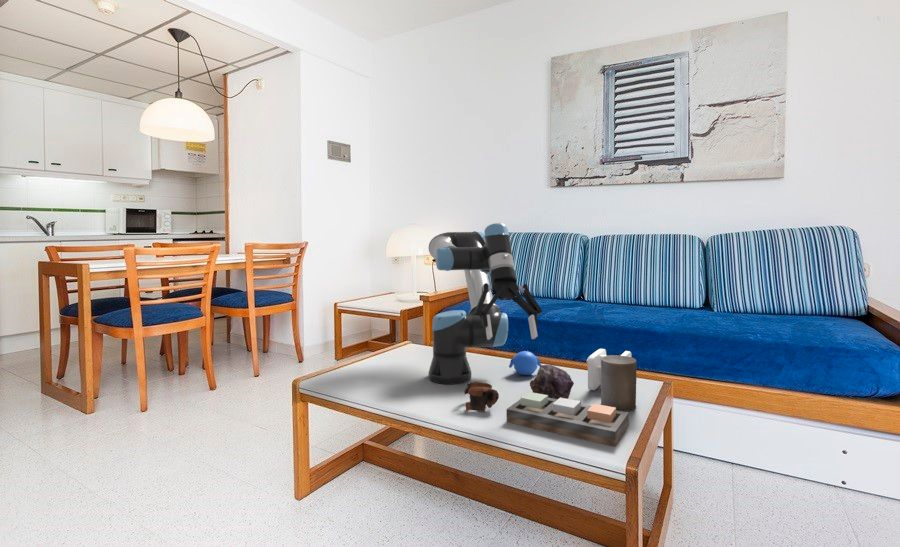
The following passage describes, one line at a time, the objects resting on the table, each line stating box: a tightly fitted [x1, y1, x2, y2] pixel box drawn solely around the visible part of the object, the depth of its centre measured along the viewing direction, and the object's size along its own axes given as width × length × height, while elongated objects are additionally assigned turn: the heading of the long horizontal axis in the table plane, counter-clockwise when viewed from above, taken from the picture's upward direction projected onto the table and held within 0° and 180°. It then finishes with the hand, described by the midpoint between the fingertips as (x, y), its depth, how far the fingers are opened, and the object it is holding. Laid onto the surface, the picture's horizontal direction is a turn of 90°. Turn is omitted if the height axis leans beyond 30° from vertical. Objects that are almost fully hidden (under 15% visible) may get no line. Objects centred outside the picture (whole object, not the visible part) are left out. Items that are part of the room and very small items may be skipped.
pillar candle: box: [600, 354, 637, 412], centre depth 133 cm, size 10×10×15 cm
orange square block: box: [587, 403, 616, 423], centre depth 116 cm, size 6×6×2 cm
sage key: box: [520, 391, 548, 409], centre depth 126 cm, size 6×6×2 cm
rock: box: [529, 364, 575, 399], centre depth 142 cm, size 12×9×10 cm
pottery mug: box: [463, 381, 500, 413], centre depth 134 cm, size 12×10×8 cm
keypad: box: [506, 398, 630, 447], centre depth 121 cm, size 28×14×4 cm, turn 57°
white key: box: [553, 398, 582, 416], centre depth 121 cm, size 6×6×2 cm
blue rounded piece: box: [508, 350, 542, 376], centre depth 167 cm, size 12×12×8 cm
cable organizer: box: [586, 348, 632, 391], centre depth 149 cm, size 15×11×12 cm
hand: (512, 337), depth 131 cm, fingers open, 13 cm apart
